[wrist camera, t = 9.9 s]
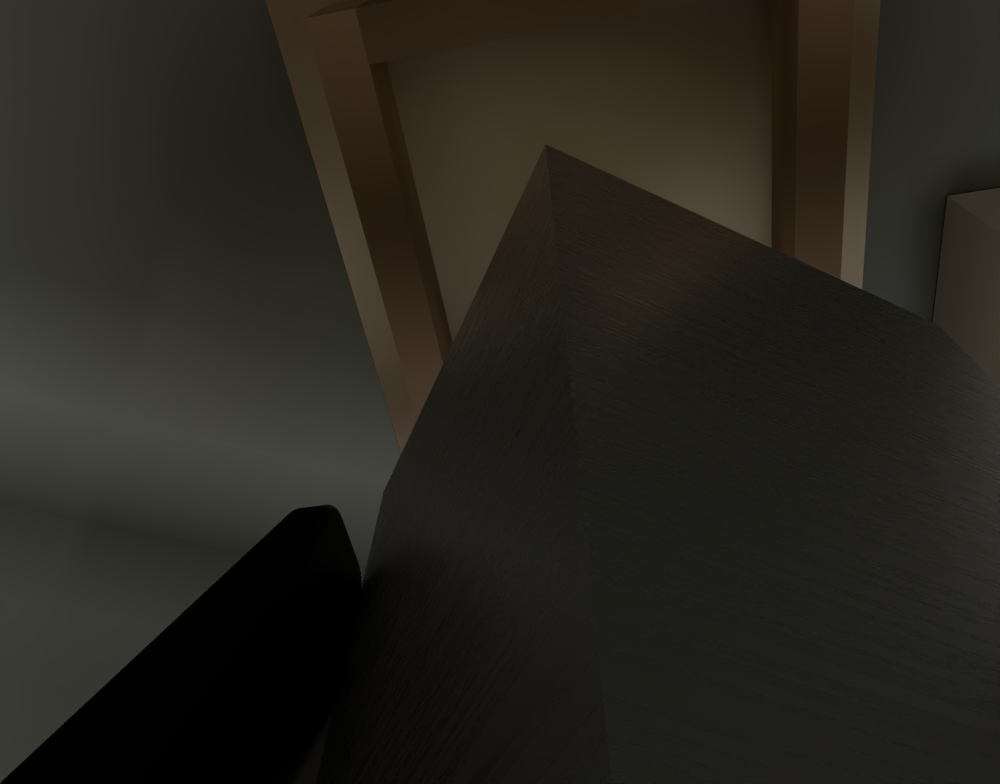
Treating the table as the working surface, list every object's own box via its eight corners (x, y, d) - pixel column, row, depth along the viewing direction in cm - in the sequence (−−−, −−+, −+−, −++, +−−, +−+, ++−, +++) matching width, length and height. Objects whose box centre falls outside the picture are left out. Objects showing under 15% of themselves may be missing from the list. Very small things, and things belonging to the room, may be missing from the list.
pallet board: (824, 620, 22) (858, 703, 20) (474, 656, 24) (469, 738, 21) (861, -137, 13) (932, -145, 11) (280, -19, 14) (233, -2, 12)
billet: (707, 605, 10) (957, 1542, 4) (383, 492, 10) (157, 1466, 4) (939, 324, 8) (2026, 1426, 2) (545, 144, 7) (652, 1167, 1)
